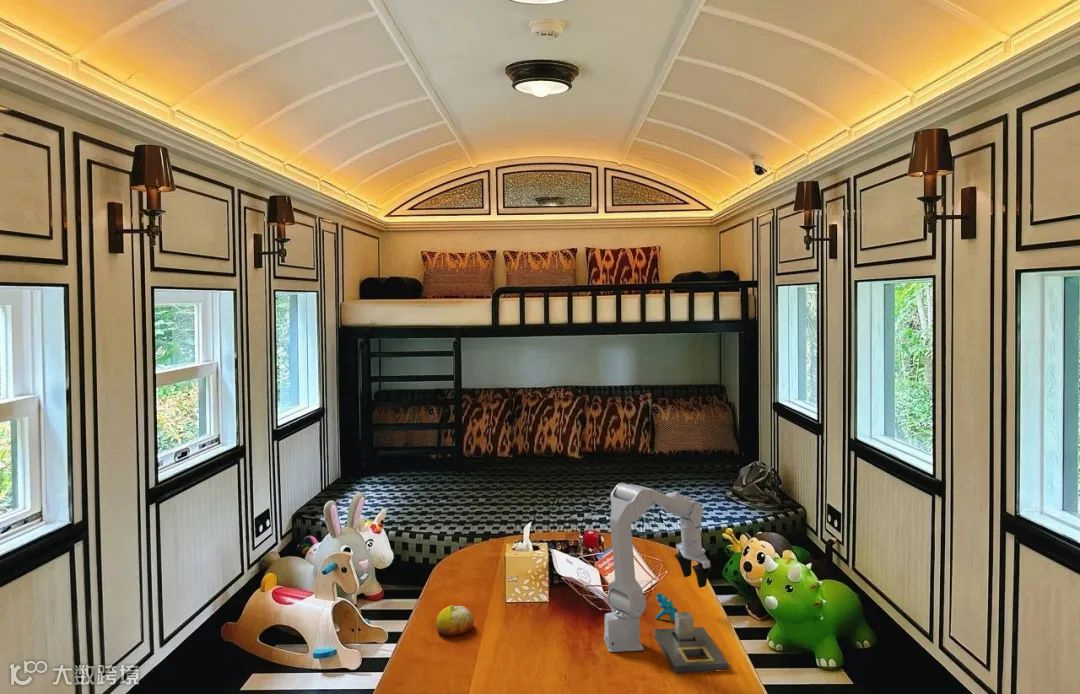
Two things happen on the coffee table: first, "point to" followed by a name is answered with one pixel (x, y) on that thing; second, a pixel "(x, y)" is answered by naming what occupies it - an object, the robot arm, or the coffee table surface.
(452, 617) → the fruit
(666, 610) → the teal lobed piece
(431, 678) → the coffee table surface
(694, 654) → the hole plate
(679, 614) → the steel peg
